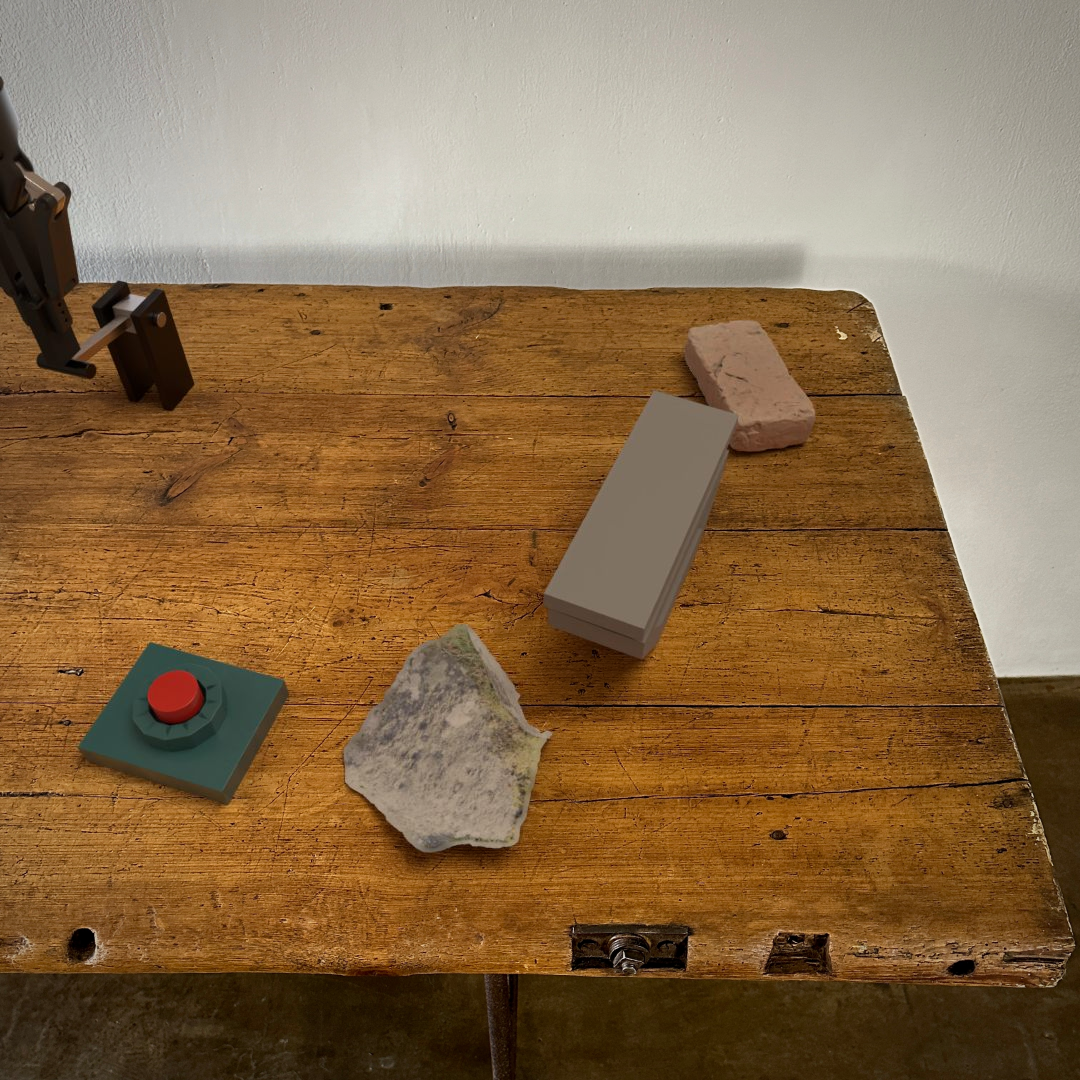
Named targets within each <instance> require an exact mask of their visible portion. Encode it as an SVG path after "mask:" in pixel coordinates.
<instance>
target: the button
mask: <svg viewBox="0 0 1080 1080" xmlns="http://www.w3.org/2000/svg"><path fill="white" fill-rule="evenodd" d="M148 701H149V703H150V705H151V707H152V709H153V711H154V713H155V714H156V716H157V717H158V718H159V719H160V720H161V721H163V722H166V723H170V724H177V723H182V722H185V721H187V720H189V719H191V718H192V717H193V716H194V715H196V714H197V712H198V711H199V710H200V708H201V706H202V703H203V694H202V691H201V689H200V687H199V685H198V683H197V680H196V679H195V677H194V676H193V675H192V674H190V673H188V672H185V671H171V672H167V673H165V674H163V675H161V676H160V677H158V678H157V679H156V680H155V681H154V682H153V683H152V685H151V686H150V688H149V691H148Z"/></svg>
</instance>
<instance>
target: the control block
mask: <svg viewBox="0 0 1080 1080" xmlns="http://www.w3.org/2000/svg"><path fill="white" fill-rule="evenodd" d="M171 671H185V672H188V673H190V674H192V675H193V676H194V677H195V679H196V680H197V683H198V685H199V687H200V689H201V691H202V694H203V703H202V706H201V708H200V710H199V711H198V712H197V714H196V715H194V716H193V717H192V718H191V719H189V720H187V721H185V722H182V723H177V724H170V723H166V722H163V721H161V720H160V719H159V718H158V717H157V716H156V714H155V713H154V711H153V709H152V707H151V705H150V703H149V701H148V691H149V688H150V686H151V685H152V683H153V682H154V681H155V680H156V679H157V678H158V677H160V676H161V675H163V674H165V673H167V672H171ZM289 696H290V692H289V689H288V686H287V683H286V680H285V679H283V678H279V677H276V676H271V675H268V674H265V673H261V672H258V671H254V670H251V669H248V668H244V667H240V666H236V665H233V664H229V663H226V662H222V661H219V660H215V659H211V658H208V657H205V656H202V655H197V654H194V653H191V652H187V651H184V650H180V649H177V648H174V647H169V646H166V645H162V644H159V643H155V642H151V641H150V642H149V643H148V644H147V645H146V647H145V648H144V650H143V651H142V652H141V654H140V656H139V657H138V659H136V661H135V663H134V664H133V665H132V667H131V669H130V670H129V672H128V673H127V674H126V676H124V678H123V680H122V681H121V683H120V684H119V685H118V687H117V689H116V691H115V692H114V693H113V695H112V696H111V697H110V699H109V700H108V702H106V703H107V704H106V705H105V706H104V708H103V709H102V710H101V712H100V714H99V715H98V716H97V718H96V719H95V721H94V722H93V724H92V725H91V727H90V728H89V730H88V731H87V732H86V734H85V735H84V737H83V739H82V740H81V741H80V743H79V744H78V746H77V749H78V750H79V752H80V754H81V755H82V756H83V758H84V759H85V761H86V762H89V763H92V764H96V765H98V766H101V767H105V768H108V769H111V770H114V771H116V772H120V773H123V774H126V775H129V776H133V777H136V778H140V779H142V780H146V781H149V782H152V783H156V784H159V785H162V786H166V787H169V788H172V789H175V790H178V791H181V792H184V793H187V794H191V795H194V796H198V797H201V798H204V799H206V800H210V801H213V802H216V803H219V804H223V805H226V806H229V805H230V803H231V802H232V800H233V798H234V796H235V794H236V792H237V790H238V789H239V787H240V785H241V784H242V782H243V780H244V778H245V776H246V775H247V772H248V770H249V768H250V767H251V765H252V763H253V761H254V760H255V758H256V756H257V754H258V752H259V750H260V749H261V747H262V745H263V743H264V742H265V739H266V737H267V736H268V734H269V732H270V731H271V729H272V728H273V725H274V724H275V721H276V720H277V718H278V716H279V715H280V712H281V711H282V709H283V708H284V705H285V704H286V701H287V699H288V698H289Z"/></svg>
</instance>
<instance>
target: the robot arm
mask: <svg viewBox="0 0 1080 1080" xmlns="http://www.w3.org/2000/svg"><path fill="white" fill-rule="evenodd" d="M19 132H20V120H19V117H18V114H17V111H16V108H15V106H14V104H13V102H12V98H11V96H10V94H9V92H8V89H7V86H6V84H5V81H4V80H3V77H2V76H1V75H0V288H1V289H2V291H3V292H4V294H5V295H7V296H8V297H9V298H11V299H12V300H13V303H14V306H15V307H16V309H17V311H18V313H19V315H20V318H21V320H22V321H23V323H24V324H25V325H26V326H27V327H29V328H30V331H31V333H32V335H33V336H34V339H35V341H36V343H37V346H38V347H39V350H40V353H41V352H42V354H43V356H44V358H45V360H46V362H47V365H52V366H56V367H60V368H63V367H64V366H65V365H66V364H67V363H68V362H69V361H70V360H71V359H72V358H73V357H74V356H75V355H76V354H77V353H78V352H79V351H80V350H81V348H80V346H79V345H80V343H79V341H78V339H77V336H76V334H75V332H74V330H73V327H72V325H73V324H74V319H73V316H72V314H71V312H70V309H69V308H68V304H67V301H66V300H65V298H66V296H67V295H69V293H70V292H72V291H73V290H74V289H75V288H76V287H77V286H78V285H79V284H80V277H79V273H78V266H77V260H76V253H75V248H74V242H73V236H72V230H71V223H70V217H69V212H68V208H69V205H70V201H71V198H72V193H73V192H72V190H71V188H70V187H69V185H68V184H67V183H65V182H64V181H57V182H56V183H55V184H54V185H53V184H51V183H50V182H49V181H47V180H45V178H43V177H41V176H40V175H39V174H37V173H36V172H35V171H36V170H35V166H34V163H33V162H32V160H31V159H30V158H29V156H28V155H27V154H26V153H25V152H24V150H23V148H22V147H21V145H20V142H19V136H20V135H19Z"/></svg>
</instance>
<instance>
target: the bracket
mask: <svg viewBox="0 0 1080 1080" xmlns="http://www.w3.org/2000/svg"><path fill="white" fill-rule="evenodd" d="M129 294H132V292H131V290H130V286H129V284H128V282H127V281H123V280H119V279H118V280H117V281H116V282H115V283H113V285H112V286H110V287H109V288H108V289H107V290H106V291H105V292H104V293H103V294H102V295H101V296H100V297H99V298H98V299H96V301H95V302H94V303H93V304H92V305H91V309H92V312H93V314H94V317H95V319H96V321H97V324H98V327H99V330H100V329H101V328H103V327H104V326H105V325H107V324H108V323H109V322H111V321H112V320H113V319H114V318H115V316H114V312H113V308H112V307H113V306H114V305H115V304H117V303H118V302H120V301H121V300H122V299H124V298H125V297H126V296H128V295H129ZM145 297H146V298H145V299H144V300H143V301H142V302H141V303H140V305H139V306H138V307H137V308H136V309H135V310H134V311H133V312H132V313H131V314H130V317H131V320H132V323H133V325H134V328H135V331H136V333H131V332H127V331H124V332H123V333H122V334H121V335H119V336H118V337H117V338H115V339H114V340H113V341H112V342H110V343H109V344H108V345H106V347H107V349H108V352H109V354H110V357H111V360H112V363H113V365H114V367H115V369H116V372H117V374H118V377H119V379H120V382H121V384H122V387H123V389H124V393H125V394H126V397H127V400H128V402H130V403H135V404H138V403H139V402H140V401H141V400H142V399H143V397H144V396H145V395H146V394H147V393H148V392H149V390H150V389H151V388H152V387H153V386H155V389H156V391H157V394H158V397H159V399H160V403H161V405H162V407H163V410H166V411H169V412H173V411H174V410H175V409H176V408H177V407H178V405H179V404H180V403H181V402H182V400H183V399H184V398H185V397H186V395H187V394H188V393H189V392H190V391H191V390H192V389H193V387H194V386H195V381H194V378H193V375H192V372H191V368H190V366H189V363H188V360H187V359H188V358H187V357H186V353H185V351H184V347H183V344H182V341H181V338H180V335H179V332H178V327H177V325H176V322H175V319H174V317H173V313H172V310H171V307H170V304H169V301H168V297H167V294H166V291H165V290H164V289H161V288H157V287H155V288H154V289H152V291H151V292H150V293H149V294H148V295H147V296H145Z"/></svg>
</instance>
